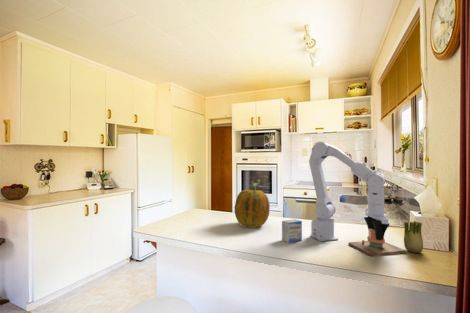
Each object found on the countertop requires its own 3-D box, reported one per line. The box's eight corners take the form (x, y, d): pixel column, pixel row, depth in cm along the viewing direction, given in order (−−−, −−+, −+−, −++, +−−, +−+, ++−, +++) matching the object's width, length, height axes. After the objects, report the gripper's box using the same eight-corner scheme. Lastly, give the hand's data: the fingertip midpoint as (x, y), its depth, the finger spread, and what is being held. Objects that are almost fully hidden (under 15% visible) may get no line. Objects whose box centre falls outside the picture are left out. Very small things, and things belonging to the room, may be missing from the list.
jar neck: (376, 248, 89) (376, 244, 89) (366, 244, 94) (366, 240, 94) (385, 247, 90) (385, 243, 90) (375, 243, 95) (375, 239, 95)
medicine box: (288, 243, 97) (288, 222, 97) (281, 240, 101) (281, 220, 101) (302, 240, 101) (302, 220, 101) (295, 237, 105) (295, 218, 105)
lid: (386, 244, 88) (386, 233, 88) (369, 242, 90) (369, 231, 90) (382, 239, 94) (382, 229, 94) (365, 238, 96) (365, 227, 96)
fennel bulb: (403, 251, 90) (403, 220, 90) (405, 248, 93) (404, 218, 93) (422, 255, 86) (422, 223, 86) (423, 251, 89) (423, 221, 90)
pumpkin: (267, 222, 131) (267, 178, 131) (271, 232, 112) (272, 181, 112) (234, 221, 131) (235, 178, 132) (233, 231, 112) (234, 181, 113)
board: (371, 256, 84) (371, 249, 84) (348, 244, 96) (348, 238, 96) (406, 253, 88) (406, 246, 88) (379, 242, 100) (379, 236, 100)
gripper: (397, 207, 85) (397, 244, 84) (377, 200, 99) (377, 232, 99) (376, 206, 86) (377, 243, 85) (360, 200, 100) (360, 231, 100)
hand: (376, 237), depth 92 cm, fingers closed on lid, 5 cm apart
